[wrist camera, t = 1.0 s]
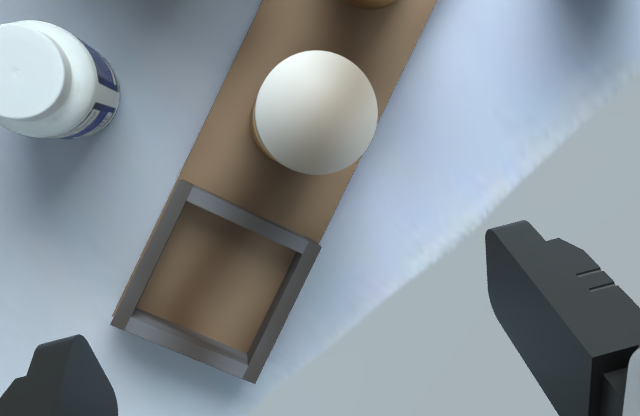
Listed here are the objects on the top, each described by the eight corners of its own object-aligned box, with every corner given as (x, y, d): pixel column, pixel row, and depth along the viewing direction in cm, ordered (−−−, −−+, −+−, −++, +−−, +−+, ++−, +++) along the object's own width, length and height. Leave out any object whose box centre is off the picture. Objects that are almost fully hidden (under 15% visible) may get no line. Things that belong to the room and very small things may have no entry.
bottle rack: (118, 306, 36) (68, 380, 25) (328, -133, 35) (375, -264, 24) (253, 363, 38) (264, 456, 26) (456, -56, 37) (558, -145, 26)
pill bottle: (29, 36, 34) (-50, -7, 24) (126, 53, 35) (88, 18, 25) (18, 131, 34) (-63, 125, 25) (115, 145, 35) (73, 145, 25)
